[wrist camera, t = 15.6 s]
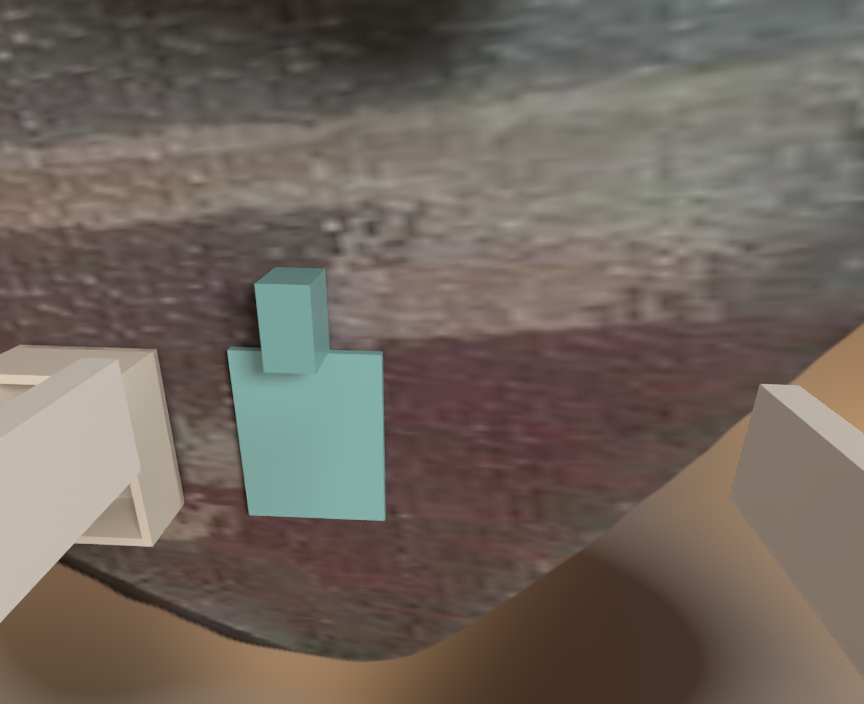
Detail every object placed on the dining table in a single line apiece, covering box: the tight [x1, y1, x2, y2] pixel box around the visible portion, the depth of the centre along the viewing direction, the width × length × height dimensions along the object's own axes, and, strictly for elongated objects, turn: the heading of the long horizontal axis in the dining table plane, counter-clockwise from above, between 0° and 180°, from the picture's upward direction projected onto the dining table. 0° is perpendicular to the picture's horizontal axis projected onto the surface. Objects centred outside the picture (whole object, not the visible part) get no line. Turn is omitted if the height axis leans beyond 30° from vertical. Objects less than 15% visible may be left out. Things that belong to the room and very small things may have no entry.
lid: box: [227, 267, 386, 521], centre depth 46 cm, size 24×13×5 cm, turn 179°
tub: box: [0, 345, 185, 547], centre depth 48 cm, size 16×12×6 cm
